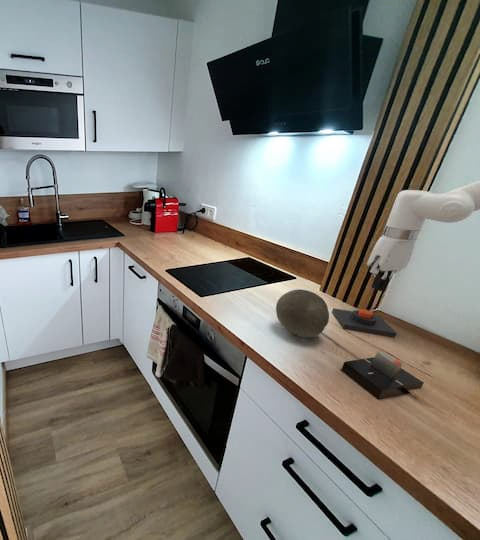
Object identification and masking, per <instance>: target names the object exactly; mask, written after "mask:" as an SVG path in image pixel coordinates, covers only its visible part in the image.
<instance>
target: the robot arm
mask: <svg viewBox="0 0 480 540" xmlns="http://www.w3.org/2000/svg"><path fill="white" fill-rule="evenodd" d="M476 211H480V180H477V181H474V182H471V183H469V184H465V185H462V186H460V187H457V188H454V189H451V190H449V191H446V192H444V193H433V192H431V191H428V190H427V191H426V190H420V189H419V190H417V189H403V190H401V191H399V192H398V193H397V195H396V197H395V199H394V203H393V205H392V208H391V211H390V213H389V216H388V219H387V220H386V221H387V222H386V224H385V226H384V229H383V232H382V235H381V236H380V237H379V238H378V239H377V241H376V243H375V245H374V246H373V249H372V251H371V252H370V255H369V258H368V259H367V263H366V265H367V267H370V270H369V272H370V274H371V273H372V274H374V275H373V276H374V278H373V281H372V284H371V287H370V288H372V289H374V290H377V291H379V292H386V290H387V288H388V286H389V283H390V281H391V280H392V279H393V277H394V276H395V274H396V273H399V272H401V271H402V270H404V269H405V268H407V266H408V264H409V262H410V259H411V257H412V254H413V251H414V248H415V245H416V241H417V239H418V237H419V235H420V232H421V231H422V228H423V225H424V223H425V221H426V219H427V220H430V221H436V222H440V223H445V224H447V223H448V224H451V223H452V224H453V223H458V222H462V221H464V220H466V219H468V218H469V217H470V216H471V215H472V214H473V212H476Z"/></svg>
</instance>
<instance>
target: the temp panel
mask: <svg viewBox="0 0 480 540" xmlns="http://www.w3.org/2000/svg"><path fill="white" fill-rule="evenodd" d="M374 358H375V356H374V357H367V358H360V359H354V360H347V361H344V362H343V364H342V367H341V369H340V371H341V372H342V373H344V374H345V375H346V376H348V378H350V379H351V380H352V381H354V382H355V383H356V384H357V385H359V386H360V387H362V388H363V389H364V390H366V391H367V392H368V393H369V394H370V395H372V396H373V397H374V398H375V399H377V400H381V399H386V398H387V399H388V398H392V397H399V396H402V395H404V396H405V395H409V394H412V392H411V391H410V390H416V389H421V388H422V387H423V385H424V384H425V382H424V381H422V380H421V379H419V378H417V377H416V376H414V375H413V374H412V373H410V372H408V371H407V370H405V369H403V368H402V367H401V368H400V370H399V372H398V374H397V376H396V378H393V379H390V378H389V377H387V376H386V375H384V374H383V373H381V372H380V371H378V370H377V369H376V368H374V367H373V366H371V364H372V362H373V360H374Z"/></svg>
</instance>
